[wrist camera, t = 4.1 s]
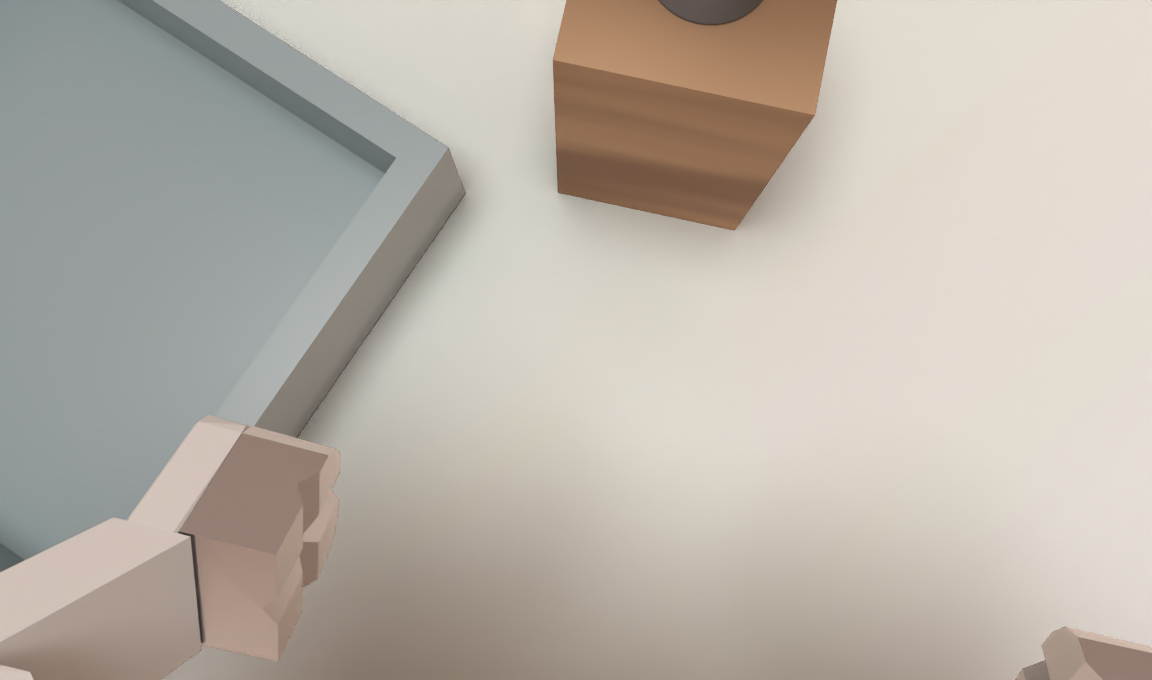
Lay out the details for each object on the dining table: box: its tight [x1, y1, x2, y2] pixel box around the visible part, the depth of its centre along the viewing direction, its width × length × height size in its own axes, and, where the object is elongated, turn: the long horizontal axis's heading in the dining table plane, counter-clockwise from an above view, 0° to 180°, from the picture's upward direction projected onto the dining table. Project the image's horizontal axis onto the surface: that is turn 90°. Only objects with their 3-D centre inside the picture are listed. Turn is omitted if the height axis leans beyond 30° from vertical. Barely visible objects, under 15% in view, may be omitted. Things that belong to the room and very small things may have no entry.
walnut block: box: [553, 0, 837, 230], centre depth 21 cm, size 4×4×8 cm
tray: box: [0, 0, 465, 572], centre depth 22 cm, size 14×14×4 cm
